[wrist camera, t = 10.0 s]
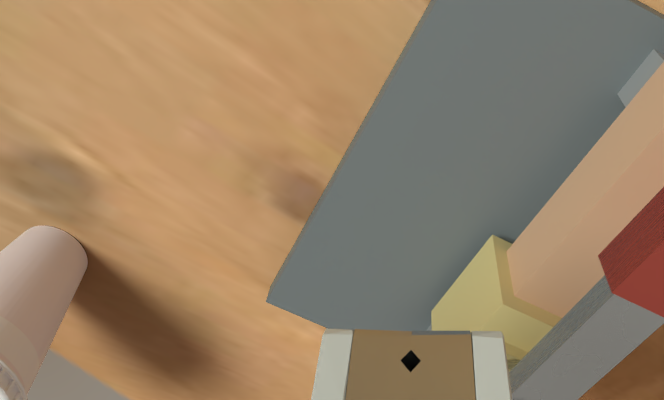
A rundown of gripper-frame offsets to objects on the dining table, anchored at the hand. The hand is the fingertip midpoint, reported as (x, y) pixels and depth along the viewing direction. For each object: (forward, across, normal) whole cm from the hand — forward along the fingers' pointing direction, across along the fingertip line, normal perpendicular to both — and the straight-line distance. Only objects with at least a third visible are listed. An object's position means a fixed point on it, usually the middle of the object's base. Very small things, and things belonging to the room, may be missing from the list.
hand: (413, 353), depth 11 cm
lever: (+9, -6, +8) cm, 13 cm away
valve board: (+16, -3, +9) cm, 19 cm away
